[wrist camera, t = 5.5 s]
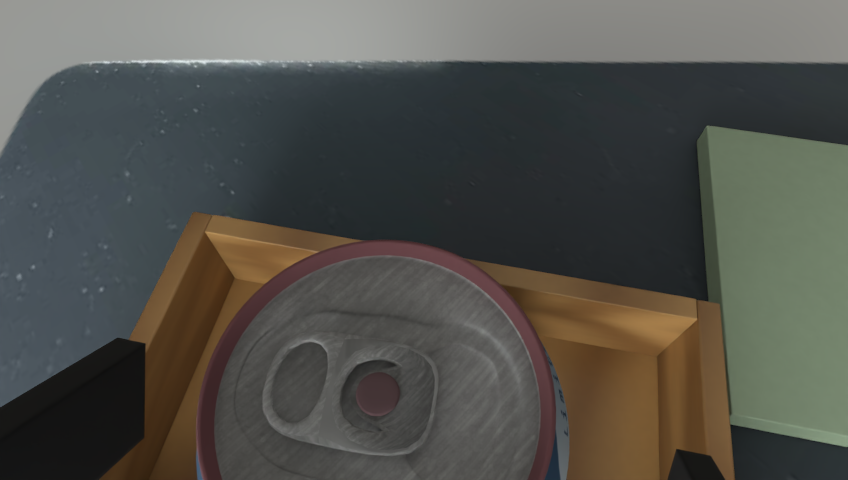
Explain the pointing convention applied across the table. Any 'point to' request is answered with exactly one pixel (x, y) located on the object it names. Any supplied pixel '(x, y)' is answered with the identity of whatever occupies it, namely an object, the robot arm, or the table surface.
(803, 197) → the mat
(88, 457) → the robot arm
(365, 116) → the table surface
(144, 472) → the wooden tray
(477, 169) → the table surface
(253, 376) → the soda can
